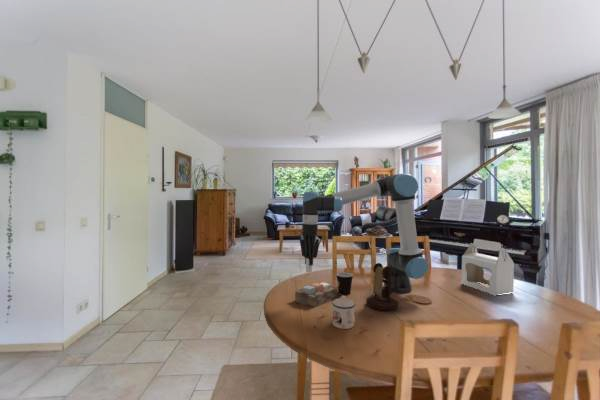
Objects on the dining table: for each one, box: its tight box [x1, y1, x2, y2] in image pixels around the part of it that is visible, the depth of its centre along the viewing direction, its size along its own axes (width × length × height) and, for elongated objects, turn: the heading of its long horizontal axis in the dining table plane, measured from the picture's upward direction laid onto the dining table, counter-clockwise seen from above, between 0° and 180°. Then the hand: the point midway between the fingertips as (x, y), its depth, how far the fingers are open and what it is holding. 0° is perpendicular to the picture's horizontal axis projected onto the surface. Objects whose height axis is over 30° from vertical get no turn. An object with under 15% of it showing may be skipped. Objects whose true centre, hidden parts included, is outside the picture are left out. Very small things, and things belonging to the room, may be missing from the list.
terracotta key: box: [310, 282, 323, 292], centre depth 145 cm, size 4×4×5 cm
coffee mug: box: [336, 272, 354, 296], centre depth 157 cm, size 12×9×10 cm
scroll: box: [365, 262, 399, 312], centre depth 137 cm, size 15×15×20 cm
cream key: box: [319, 282, 331, 289], centre depth 150 cm, size 4×4×5 cm
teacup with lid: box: [331, 295, 356, 330], centre depth 116 cm, size 12×9×12 cm
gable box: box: [461, 238, 515, 295], centre depth 166 cm, size 22×13×28 cm, turn 19°
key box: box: [294, 282, 338, 309], centre depth 145 cm, size 19×12×5 cm, turn 138°
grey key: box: [302, 284, 315, 295], centre depth 141 cm, size 4×4×5 cm
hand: (308, 271), depth 141 cm, fingers closed
